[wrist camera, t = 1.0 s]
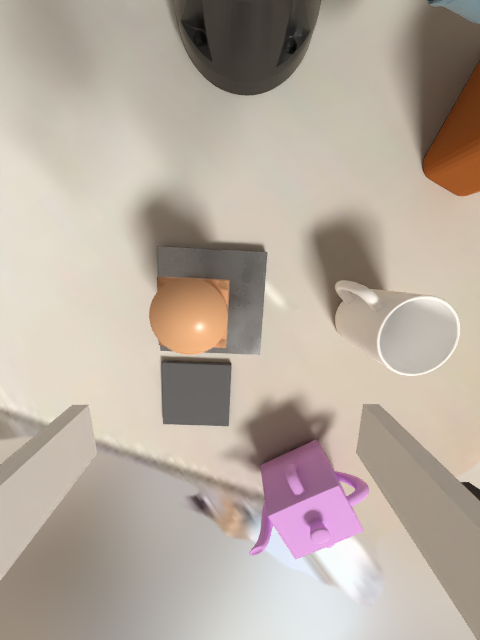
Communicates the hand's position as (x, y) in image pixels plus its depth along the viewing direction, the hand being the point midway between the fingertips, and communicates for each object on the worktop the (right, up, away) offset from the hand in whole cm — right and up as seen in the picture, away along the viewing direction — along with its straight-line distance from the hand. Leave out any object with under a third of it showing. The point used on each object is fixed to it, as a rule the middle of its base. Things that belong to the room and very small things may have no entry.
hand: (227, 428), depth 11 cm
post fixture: (-4, +8, +20) cm, 22 cm away
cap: (-4, +7, +15) cm, 17 cm away
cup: (+17, +7, +21) cm, 28 cm away
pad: (-6, -6, +23) cm, 24 cm away
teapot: (+9, -19, +26) cm, 34 cm away
